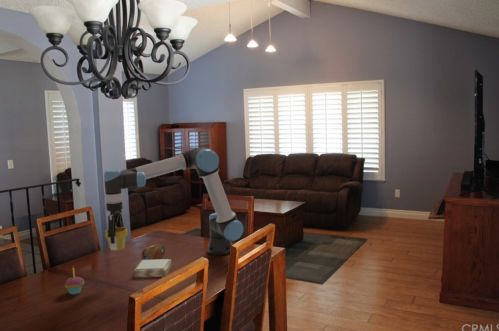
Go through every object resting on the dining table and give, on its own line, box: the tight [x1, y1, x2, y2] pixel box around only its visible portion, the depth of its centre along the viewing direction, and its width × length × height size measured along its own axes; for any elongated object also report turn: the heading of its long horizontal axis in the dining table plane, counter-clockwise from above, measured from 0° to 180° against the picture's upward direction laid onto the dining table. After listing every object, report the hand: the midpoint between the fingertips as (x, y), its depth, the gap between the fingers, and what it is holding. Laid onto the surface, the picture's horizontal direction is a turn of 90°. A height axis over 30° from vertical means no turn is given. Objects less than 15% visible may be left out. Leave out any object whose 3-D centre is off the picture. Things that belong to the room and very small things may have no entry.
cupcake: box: [64, 265, 85, 295], centre depth 202 cm, size 9×8×12 cm
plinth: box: [133, 258, 172, 278], centre depth 227 cm, size 16×16×4 cm
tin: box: [141, 243, 166, 260], centre depth 244 cm, size 15×3×8 cm, turn 143°
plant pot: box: [104, 226, 128, 252], centre depth 213 cm, size 10×10×10 cm
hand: (117, 246), depth 214 cm, fingers closed on plant pot, 10 cm apart
